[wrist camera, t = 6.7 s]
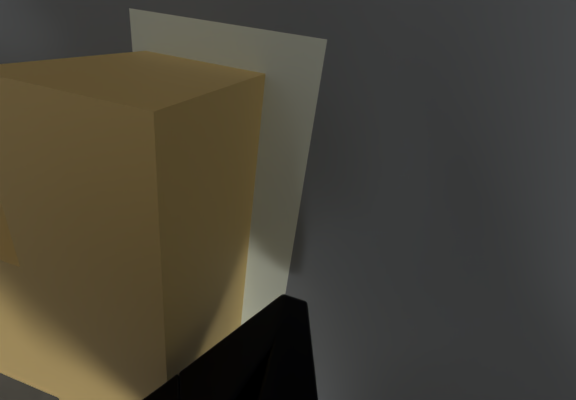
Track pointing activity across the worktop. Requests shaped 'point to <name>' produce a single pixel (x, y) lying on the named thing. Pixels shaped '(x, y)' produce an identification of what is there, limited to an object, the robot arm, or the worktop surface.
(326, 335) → the mat
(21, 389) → the worktop surface
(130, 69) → the t block
